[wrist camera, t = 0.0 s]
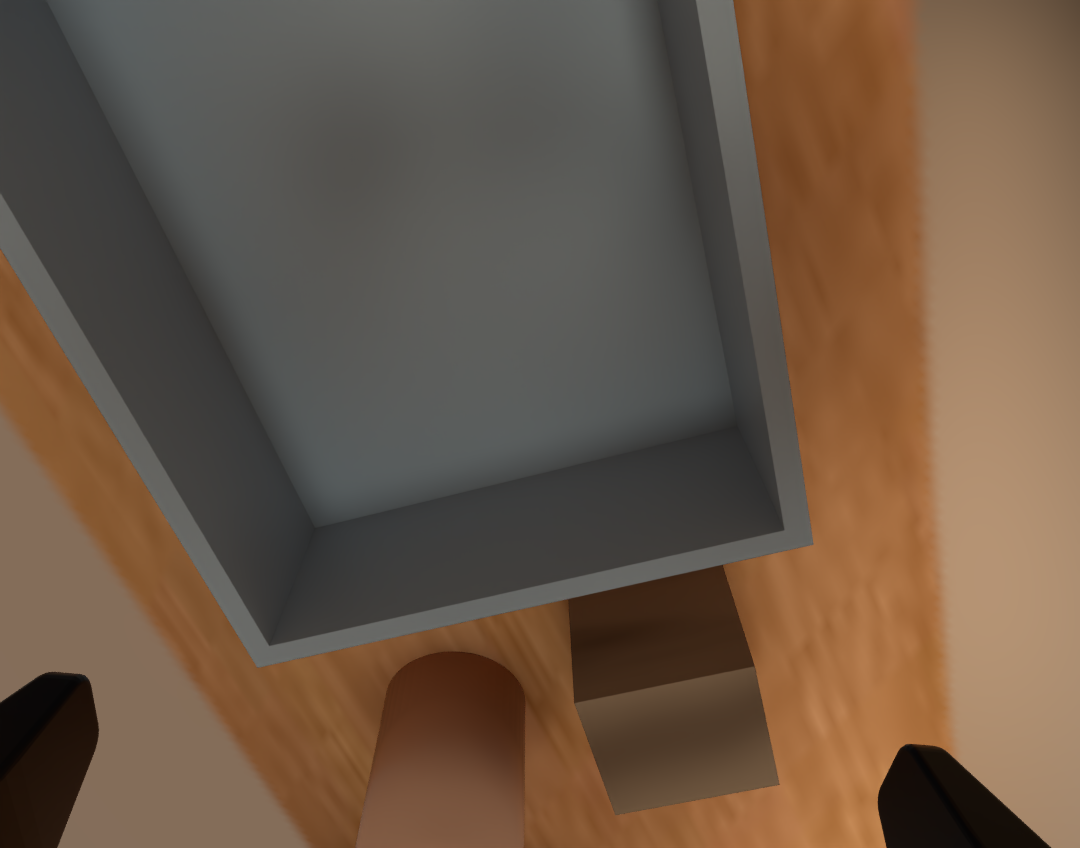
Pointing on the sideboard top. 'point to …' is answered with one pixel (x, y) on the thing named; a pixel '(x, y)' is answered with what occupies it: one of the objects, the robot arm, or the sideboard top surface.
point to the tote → (410, 294)
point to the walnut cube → (669, 692)
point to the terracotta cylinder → (448, 758)
